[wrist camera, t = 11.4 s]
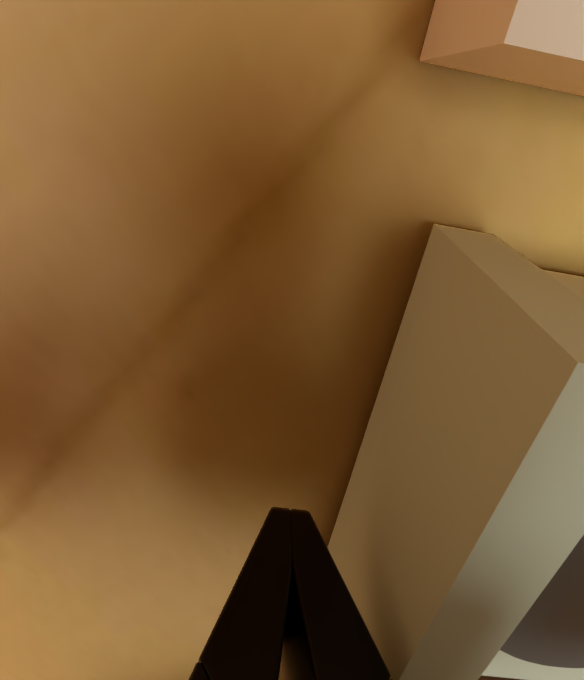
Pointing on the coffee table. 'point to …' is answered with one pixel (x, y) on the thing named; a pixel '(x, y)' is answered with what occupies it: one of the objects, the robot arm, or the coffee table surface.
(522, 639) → the cylinder
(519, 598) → the tray
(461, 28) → the block
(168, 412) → the coffee table surface
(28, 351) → the coffee table surface
